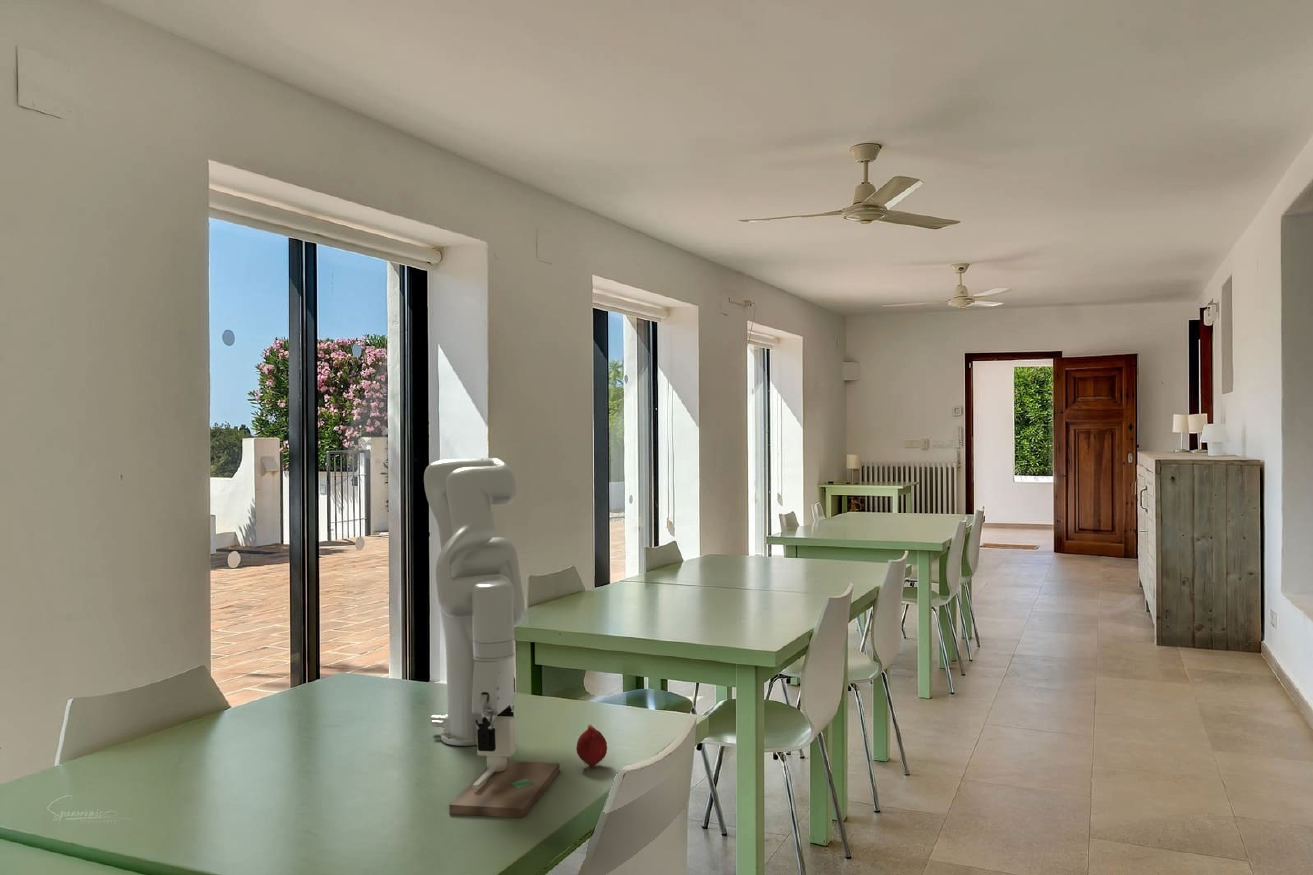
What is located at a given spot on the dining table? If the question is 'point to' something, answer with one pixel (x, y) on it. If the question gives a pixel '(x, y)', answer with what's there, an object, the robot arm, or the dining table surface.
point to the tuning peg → (499, 747)
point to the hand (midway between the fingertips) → (496, 741)
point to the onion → (591, 746)
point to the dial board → (507, 790)
